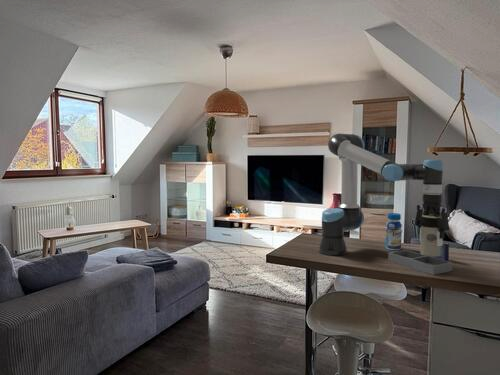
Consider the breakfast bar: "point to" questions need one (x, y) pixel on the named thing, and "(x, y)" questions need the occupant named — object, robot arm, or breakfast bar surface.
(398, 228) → the beverage bottle
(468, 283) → the breakfast bar surface
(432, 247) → the travel mug
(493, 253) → the breakfast bar surface
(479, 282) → the breakfast bar surface
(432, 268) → the grey divided tray
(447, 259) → the flask
